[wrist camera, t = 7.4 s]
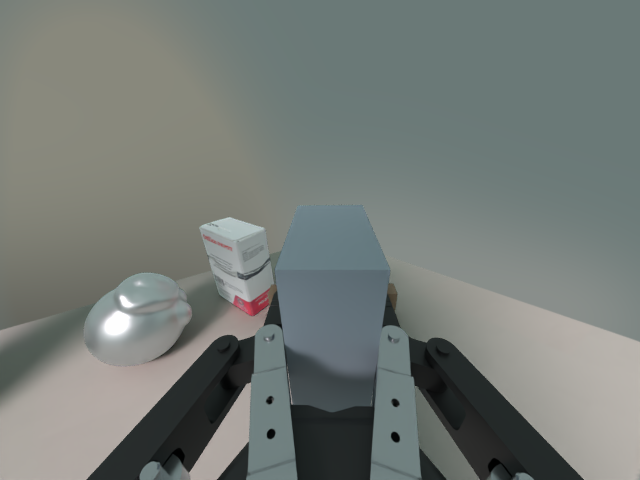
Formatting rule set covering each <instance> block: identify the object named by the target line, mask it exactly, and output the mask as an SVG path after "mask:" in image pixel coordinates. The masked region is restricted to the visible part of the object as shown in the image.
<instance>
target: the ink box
mask: <svg viewBox="0 0 640 480" xmlns="http://www.w3.org/2000/svg"><path fill="white" fill-rule="evenodd" d="M199 229H200V231H201V235H202V238H203V242H204V245H205V249H206V252H207V255H208V259H209V262H210V266H211V269H212V272H213V276H214V280H215V283H216V286H217V290H218V293H219V295H220V296H222V297H223V298H225V299H226V300H228V301H229V302H231V303H232V304H234V305H235V306H237V307H239V308H240V309H242V310H243V311H245V312H246V313H248V314H249V315H251V316H254V315H256V314H257V313H258V312H260V311H261V310H262V309H264V308H265V307H266V306H267V305H268V304H269V299H268V292H269V289H270V287H271V285H274V279H273V273H272V267H271V261H270V255H269V249H268V243H267V237H266V230H265V228H262V227H259V226H255V225H252V224H249V223H246V222H243V221H240V220H236V219H233V218H230V217H228V218H225V219H221V220H218V221H214V222H211V223H208V224H204V225H202V226H201V227H199Z"/></svg>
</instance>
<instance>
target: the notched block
mask: <svg viewBox="0 0 640 480" xmlns="http://www.w3.org/2000/svg"><path fill="white" fill-rule="evenodd" d="M389 276H390V268H389V265H388V263H387V261H386V258H385V256H384V254H383V252H382V249H381V247H380V245H379V242H378V240H377V238H376V236H375V233H374V231H373V228H372V226H371V224H370V222H369V219H368V217H367V215H366V212H365V210H364V208H363V205H316V206H298V207H297V210H296V213H295V215H294V218H293V221H292V224H291V226H290V229H289V232H288V235H287V237H286V240H285V242H284V245H283V248H282V251H281V253H280V256H279V259H278V262H277V264H276V267H275V277H276V285H277V292H278V299H279V307H280V314H281V322H282V329H283V336H284V344H285V351H286V358H287V366H288V373H289V381H290V388H291V395H292V403H293V405H310V406H313V407H316V408H319V409H322V410H325V411H328V412H336V411H340V410H343V409H347V408H350V407H354V406H371V399H372V392H373V384H374V375H375V372H376V365H377V357H378V348H379V345H380V338H381V331H382V324H383V317H384V310H385V304H386V297H387V290H388V283H389Z"/></svg>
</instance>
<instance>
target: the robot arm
mask: <svg viewBox="0 0 640 480" xmlns="http://www.w3.org/2000/svg"><path fill="white" fill-rule="evenodd" d="M250 382H251V402H250V429H249V442H248V443H247V444H246V445H245V447H244V448H243V449H242V450H241V451H240V453H239V454H238V455H237V456H236V457H235V459H234V460H233V461H232V462H231V463H230V465H229V466H228V467H227V468H226V469H225V471H224V472H223V473H222V474H221V475H220V477H219V478H218V479H217V480H446V478H445V477H444V476H443V475H442V474H441V472H440V471H439V470H438V469H437V468H436V467H435V465H434V464H433V463H432V462H431V461H430V459H429V458H428V457H427V456H426V455H425V454H424V452H423V451H422V450H421V449H420V448H419V443H418V429H417V415H416V401H415V387H414V385H415V386H418V388H419V389H420V391H421V392H422V394H423V395H424V397H425V398H426V400H427V401H428V403H429V404H430V406H431V407H432V409H433V410H434V412H435V413H436V415H437V416H438V418H439V419H440V421H441V422H442V424H443V425H444V427H445V428H446V430H447V431H448V432H449V434H450V435H451V437H452V438H453V440H454V441H455V443H456V444H457V446H458V447H459V449H460V450H461V452H462V453H463V455H464V456H465V458H466V459H467V461H468V462H469V464H470V465H471V467H472V468H473V470H474V471H475V473H476V474H477V475H478V477H479V478H480V480H584V479H583V478H582V477H581V476H580V475H579V474H578V473H577V472H576V471H575V470H574V469H573V468H572V467H571V466H570V465H569V464H568V463H567V462H566V461H565V460H564V459H563V458H562V457H561V456H560V455H559V454H558V453H557V451H556V450H555V449H554V448H553V447H552V446H551V445H550V444H549V443H548V442H547V441H546V440H545V439H544V438H543V437H542V436H541V435H540V434H539V433H538V432H537V431H536V430H535V429H534V428H533V427H532V426H531V425H530V424H529V423H528V421H527V420H526V419H525V418H524V417H523V416H522V415H521V414H520V413H519V412H518V411H517V410H516V409H515V408H514V407H513V406H512V405H511V404H510V403H509V402H508V401H507V400H506V399H505V398H504V397H503V396H502V395H501V394H500V393H499V392H498V390H497V389H496V388H495V387H494V386H493V385H492V384H491V383H490V382H489V381H488V380H487V379H486V378H485V377H484V376H483V375H482V374H481V373H480V372H479V371H478V370H477V369H476V368H475V367H474V366H473V365H472V364H471V363H470V362H469V360H468V359H467V358H466V357H465V356H464V355H463V354H462V353H461V352H460V351H459V350H458V349H457V348H456V347H455V346H454V345H453V344H452V343H450V342H449V341H447V340H445V339H442V338H432V339H430V340H429V341H428V342H427V343H425V342H422V341H418V340H415V339H412V338H410V337H409V336H408V335H407V334H406V332H405V331H404V330H402V329H401V328H400V325H399V323H398V320H397V317H396V314H395V312H394V309H393V306H392V303H391V300H390V298H389V295H388V293H387V297H386V304H385V310H384V317H383V324H382V331H381V338H380V345H379V348H378V357H377V365H376V372H375V375H374V384H373V396H372V406H354V407H350V408H347V409H343V410H340V411H336V412H328V411H325V410H322V409H319V408H316V407H313V406H310V405H291V397H290V388H289V379H288V369H287V358H286V351H285V344H284V336H283V329H282V322H281V314H280V307H279V299H278V292H277V291H276V292H275V293H274V295H273V298H272V301H271V304H270V307H269V311H268V314H267V317H266V320H265V323H264V326H263V327H262V328H260V329H259V330H258V331H257V333H256V335H255V336H253V337H250V338H247V339H243V340H239V341H238V339H237V338H236V337H235V336H233V335H225V336H222V337H220V338H218V339H216V340H215V341H214V342H213V343H212V344H211V345H210V346H209V347H208V348H207V349H206V350H205V351H204V353H203V354H202V355H201V356H200V357H199V358H198V359H197V360H196V361H195V362H194V363H193V365H192V366H191V367H190V368H189V369H188V370H187V371H186V372H185V373H184V374H183V375H182V376H181V378H180V379H179V380H178V381H177V382H176V383H175V384H174V385H173V386H172V387H171V388H170V390H169V391H168V392H167V393H166V394H165V395H164V396H163V397H162V398H161V399H160V400H159V401H158V403H157V404H156V405H155V406H154V407H153V408H152V409H151V410H150V411H149V412H148V413H147V415H146V416H145V417H144V418H143V419H142V420H141V421H140V422H139V423H138V424H137V425H136V426H135V428H134V429H133V430H132V431H131V432H130V433H129V434H128V435H127V436H126V437H125V438H124V440H123V441H122V442H121V443H120V444H119V445H118V446H117V447H116V448H115V449H114V450H113V452H112V453H111V454H110V455H109V456H108V457H107V458H106V459H105V460H104V461H103V462H102V463H101V465H100V466H99V467H98V468H97V469H96V470H95V471H94V472H93V473H92V474H91V475H90V477H89V478H88V479H87V480H191V479H190V475H189V472H190V471H191V469H192V468H193V466H194V464H195V463H196V461H197V460H198V458H199V457H200V455H201V454H202V452H203V450H204V449H205V447H206V446H207V444H208V443H209V441H210V440H211V438H212V437H213V435H214V433H215V432H216V430H217V429H218V427H219V426H220V424H221V423H222V421H223V419H224V418H225V416H226V415H227V413H228V412H229V410H230V409H231V407H232V406H233V404H234V402H235V401H236V399H237V398H238V396H239V395H240V393H241V392H242V390H243V388H244V387H245V385H246V384H247V383H250Z"/></svg>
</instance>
